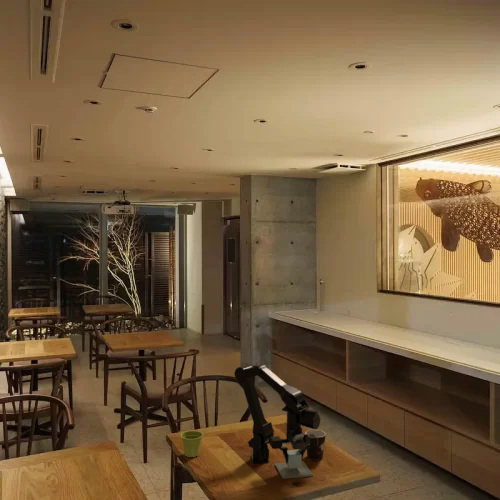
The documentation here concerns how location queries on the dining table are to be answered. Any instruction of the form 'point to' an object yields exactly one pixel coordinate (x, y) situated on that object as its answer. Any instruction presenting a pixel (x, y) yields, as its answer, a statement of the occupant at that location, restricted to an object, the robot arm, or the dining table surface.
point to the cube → (294, 459)
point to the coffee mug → (316, 451)
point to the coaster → (293, 471)
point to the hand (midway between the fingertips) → (293, 462)
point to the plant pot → (191, 443)
